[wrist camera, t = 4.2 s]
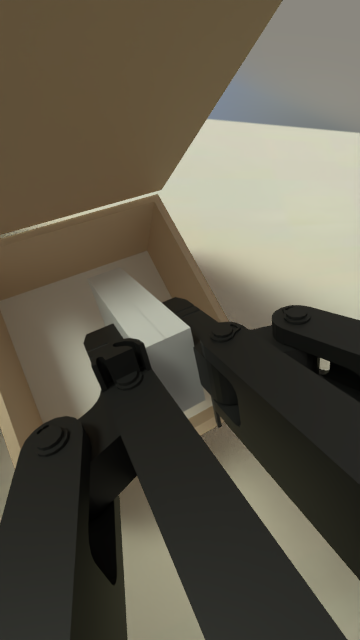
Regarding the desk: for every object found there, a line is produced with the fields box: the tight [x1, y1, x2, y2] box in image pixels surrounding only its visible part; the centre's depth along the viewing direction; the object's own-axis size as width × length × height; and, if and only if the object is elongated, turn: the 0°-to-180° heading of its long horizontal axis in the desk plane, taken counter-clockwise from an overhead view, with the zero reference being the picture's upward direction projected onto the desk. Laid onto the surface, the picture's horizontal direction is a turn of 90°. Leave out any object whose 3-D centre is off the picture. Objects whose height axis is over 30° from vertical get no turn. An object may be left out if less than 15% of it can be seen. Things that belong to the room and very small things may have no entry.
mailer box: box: [0, 194, 229, 469], centre depth 24 cm, size 16×18×8 cm
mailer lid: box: [0, 0, 283, 235], centre depth 13 cm, size 16×18×1 cm
